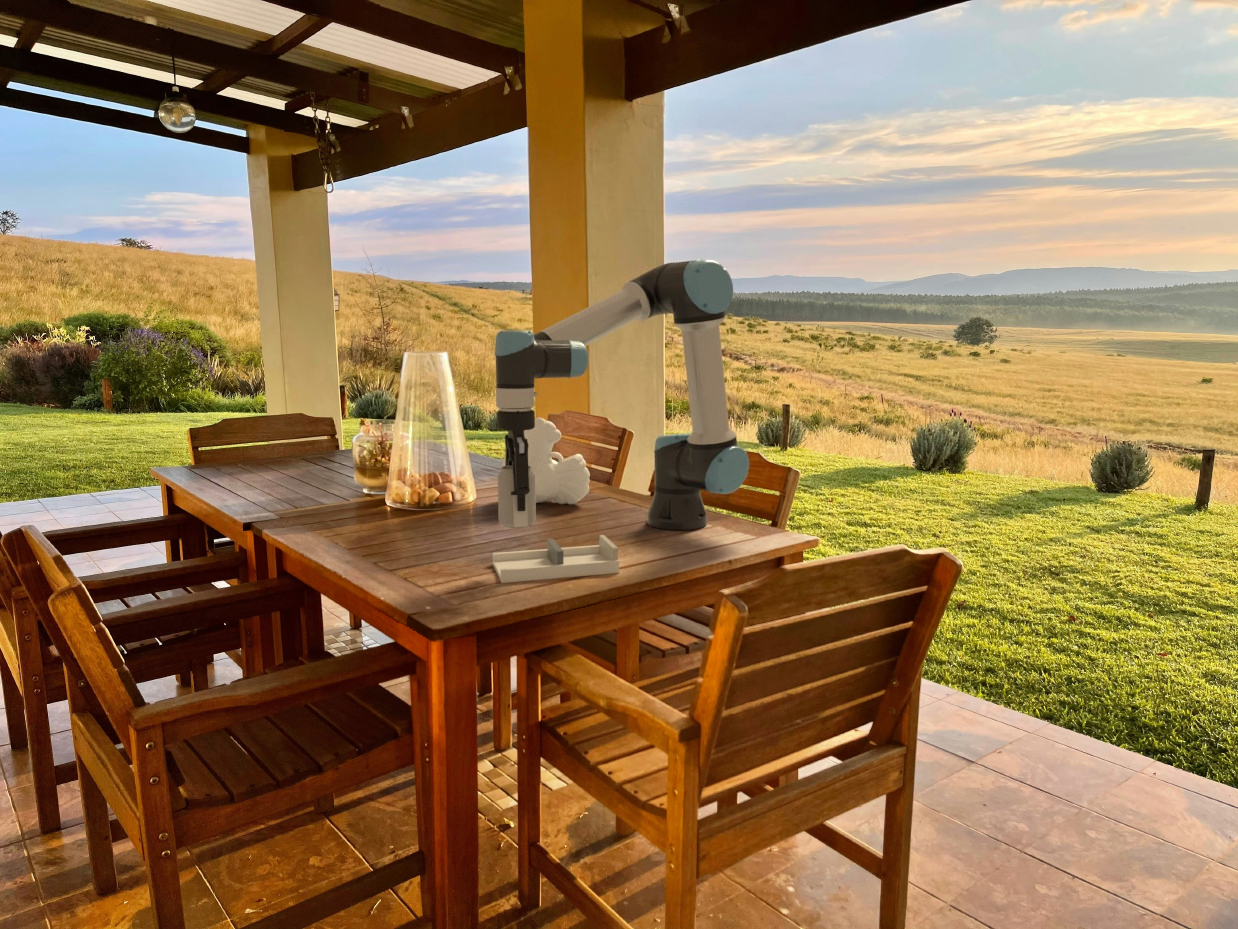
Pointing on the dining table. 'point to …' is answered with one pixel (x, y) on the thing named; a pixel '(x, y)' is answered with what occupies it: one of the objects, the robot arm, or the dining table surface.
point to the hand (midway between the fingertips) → (517, 521)
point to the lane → (574, 564)
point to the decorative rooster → (554, 467)
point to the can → (507, 499)
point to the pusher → (554, 552)
